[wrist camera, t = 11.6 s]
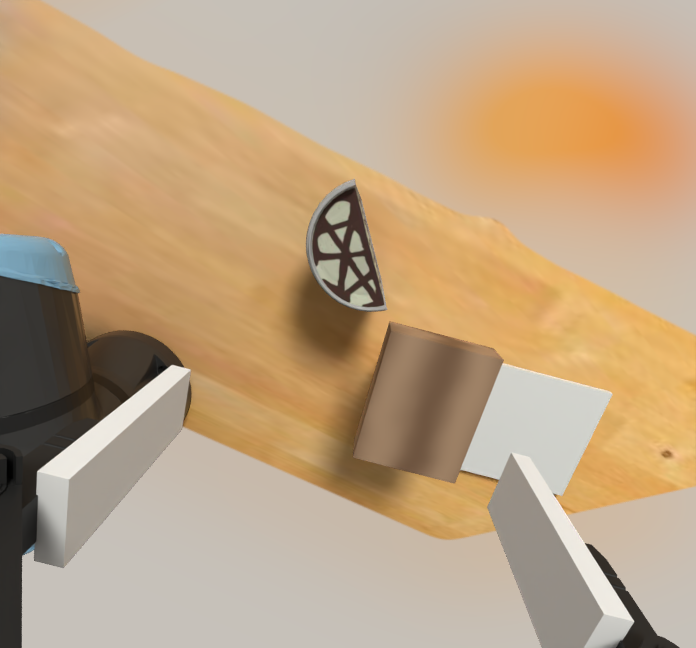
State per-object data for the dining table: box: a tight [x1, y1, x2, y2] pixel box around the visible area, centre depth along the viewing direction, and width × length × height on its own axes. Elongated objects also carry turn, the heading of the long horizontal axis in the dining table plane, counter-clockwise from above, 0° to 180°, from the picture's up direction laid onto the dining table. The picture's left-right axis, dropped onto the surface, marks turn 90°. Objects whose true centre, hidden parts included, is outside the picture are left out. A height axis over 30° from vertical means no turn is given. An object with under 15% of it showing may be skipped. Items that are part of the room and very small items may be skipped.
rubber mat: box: [460, 363, 612, 496], centre depth 50 cm, size 16×15×1 cm
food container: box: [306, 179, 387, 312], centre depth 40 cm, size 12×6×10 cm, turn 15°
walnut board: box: [353, 321, 504, 484], centre depth 38 cm, size 10×13×3 cm
